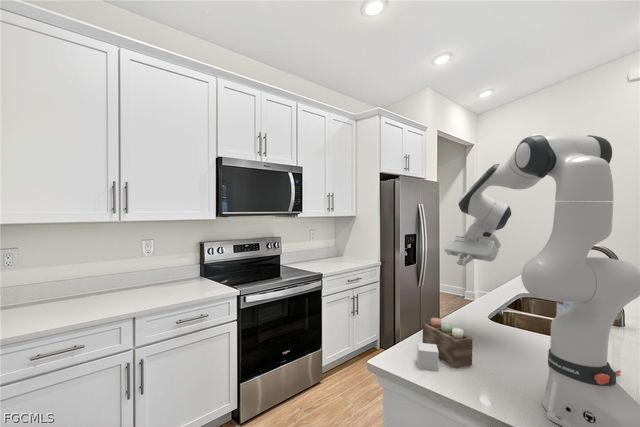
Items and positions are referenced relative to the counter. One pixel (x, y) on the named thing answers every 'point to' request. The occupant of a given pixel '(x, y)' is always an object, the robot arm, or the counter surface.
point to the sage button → (446, 327)
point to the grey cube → (427, 356)
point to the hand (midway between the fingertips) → (460, 264)
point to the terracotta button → (436, 322)
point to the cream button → (457, 333)
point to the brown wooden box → (449, 346)
